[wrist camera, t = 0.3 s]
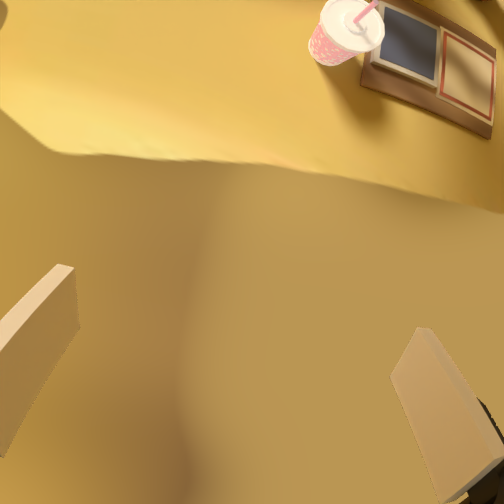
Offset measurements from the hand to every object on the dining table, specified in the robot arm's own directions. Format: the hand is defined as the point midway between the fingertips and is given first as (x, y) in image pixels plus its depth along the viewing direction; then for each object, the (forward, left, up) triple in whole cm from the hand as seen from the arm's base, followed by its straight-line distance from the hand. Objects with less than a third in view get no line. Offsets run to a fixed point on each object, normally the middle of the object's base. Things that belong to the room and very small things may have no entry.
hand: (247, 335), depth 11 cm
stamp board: (-24, +22, -26) cm, 42 cm away
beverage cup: (-20, +7, -26) cm, 34 cm away
